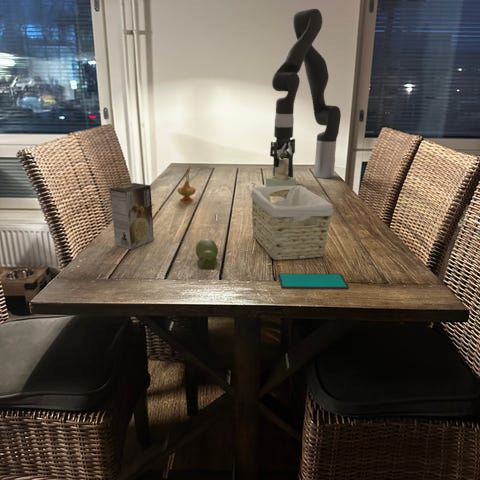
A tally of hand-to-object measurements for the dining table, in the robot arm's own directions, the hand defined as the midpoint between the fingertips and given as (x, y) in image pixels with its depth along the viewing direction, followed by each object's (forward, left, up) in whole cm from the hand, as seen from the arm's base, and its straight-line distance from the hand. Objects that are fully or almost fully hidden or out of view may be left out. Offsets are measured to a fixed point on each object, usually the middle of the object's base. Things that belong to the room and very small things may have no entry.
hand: (282, 165), depth 183 cm
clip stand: (0, 0, -11) cm, 11 cm away
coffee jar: (-13, -9, -11) cm, 19 cm away
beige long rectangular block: (0, 0, -9) cm, 9 cm away
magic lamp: (+40, -15, -11) cm, 44 cm away
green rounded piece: (+77, +32, -11) cm, 84 cm away
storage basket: (+53, +40, -11) cm, 68 cm away
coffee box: (+81, +8, -11) cm, 82 cm away
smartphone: (+69, +58, -11) cm, 91 cm away
